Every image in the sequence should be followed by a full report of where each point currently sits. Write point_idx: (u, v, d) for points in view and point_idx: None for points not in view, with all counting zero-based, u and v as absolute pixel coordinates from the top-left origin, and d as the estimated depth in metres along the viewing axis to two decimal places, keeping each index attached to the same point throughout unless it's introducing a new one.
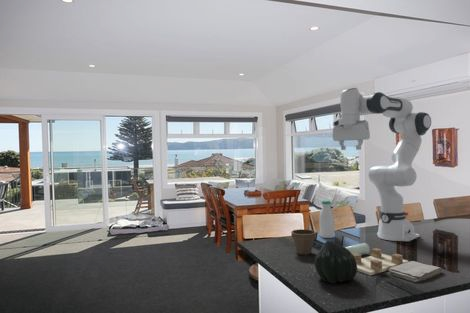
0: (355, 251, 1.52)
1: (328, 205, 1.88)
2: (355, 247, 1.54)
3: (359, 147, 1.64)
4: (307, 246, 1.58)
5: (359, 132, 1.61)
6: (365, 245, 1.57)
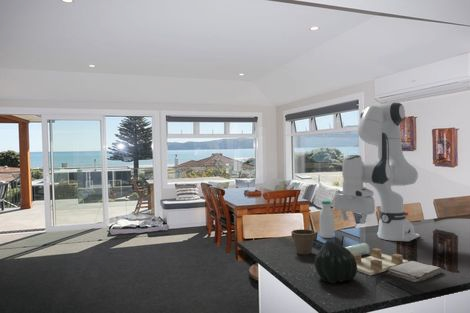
0: (355, 251, 1.52)
1: (328, 205, 1.88)
2: (355, 247, 1.54)
3: None
4: (307, 246, 1.58)
5: None
6: (365, 245, 1.57)
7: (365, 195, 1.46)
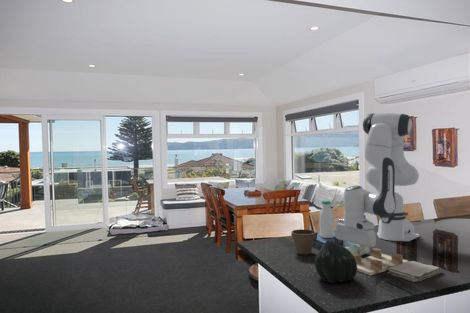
0: (355, 251, 1.52)
1: (328, 205, 1.88)
2: (355, 247, 1.54)
3: None
4: (307, 246, 1.58)
5: None
6: None
7: (366, 228, 1.47)
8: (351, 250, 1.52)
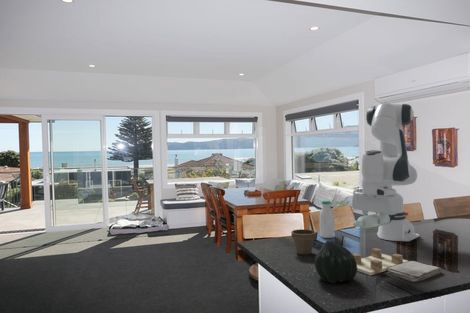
0: (375, 220, 1.40)
1: (328, 205, 1.88)
2: (375, 216, 1.42)
3: None
4: (307, 246, 1.58)
5: None
6: None
7: (388, 194, 1.35)
8: (370, 219, 1.40)
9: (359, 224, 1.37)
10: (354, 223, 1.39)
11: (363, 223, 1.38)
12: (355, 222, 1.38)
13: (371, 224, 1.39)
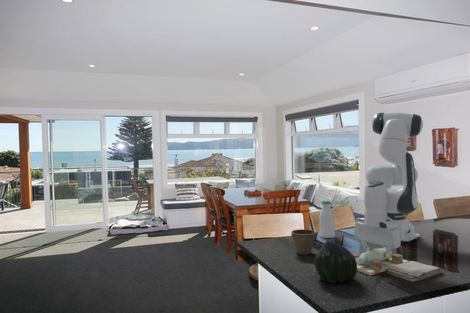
0: (377, 256, 1.40)
1: (328, 205, 1.88)
2: (377, 252, 1.42)
3: None
4: (307, 246, 1.58)
5: None
6: None
7: (390, 227, 1.34)
8: (373, 255, 1.39)
9: (362, 261, 1.37)
10: (357, 260, 1.38)
11: (366, 260, 1.38)
12: (358, 259, 1.38)
13: None
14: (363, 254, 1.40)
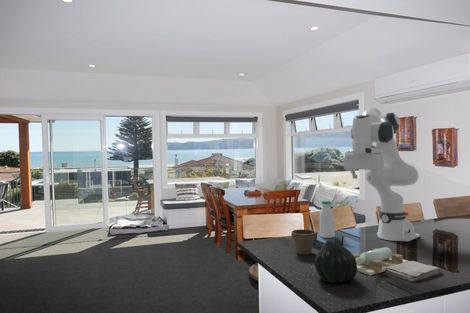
0: (377, 256, 1.40)
1: (328, 205, 1.88)
2: (377, 252, 1.42)
3: None
4: (307, 246, 1.58)
5: None
6: (387, 249, 1.45)
7: (374, 151, 1.52)
8: (373, 255, 1.39)
9: (362, 261, 1.37)
10: (357, 260, 1.38)
11: (366, 260, 1.38)
12: (358, 259, 1.38)
13: None
14: (363, 254, 1.40)
